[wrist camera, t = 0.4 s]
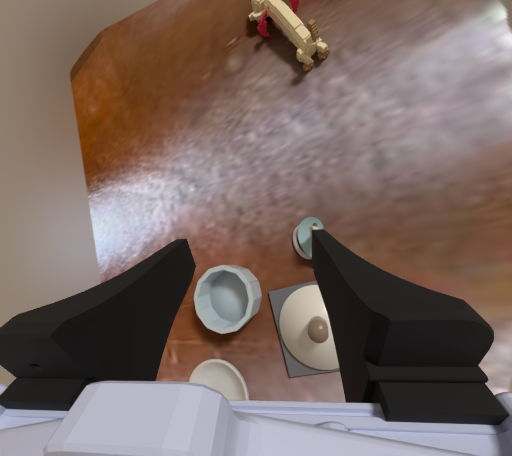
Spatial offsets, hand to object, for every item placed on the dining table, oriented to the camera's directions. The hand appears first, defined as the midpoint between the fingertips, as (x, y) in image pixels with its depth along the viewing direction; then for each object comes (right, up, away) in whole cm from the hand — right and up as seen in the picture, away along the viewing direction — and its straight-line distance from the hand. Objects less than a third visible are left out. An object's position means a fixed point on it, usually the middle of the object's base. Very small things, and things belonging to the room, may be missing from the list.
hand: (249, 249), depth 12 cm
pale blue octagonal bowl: (-4, -12, +29) cm, 31 cm away
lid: (+11, -15, +23) cm, 29 cm away
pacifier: (+10, -1, +26) cm, 28 cm away
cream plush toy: (+7, +46, +36) cm, 58 cm away
